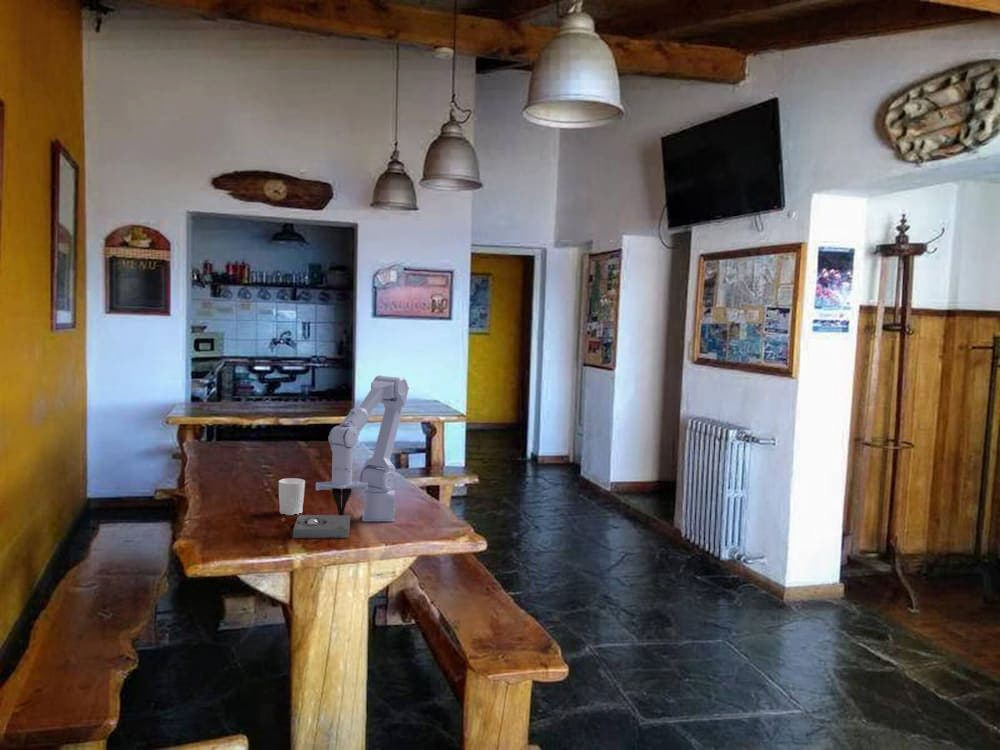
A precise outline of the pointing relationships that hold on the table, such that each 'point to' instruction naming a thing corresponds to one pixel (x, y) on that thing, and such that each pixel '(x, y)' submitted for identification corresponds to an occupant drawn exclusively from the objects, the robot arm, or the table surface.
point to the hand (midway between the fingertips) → (341, 514)
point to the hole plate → (322, 526)
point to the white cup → (291, 495)
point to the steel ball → (312, 521)
